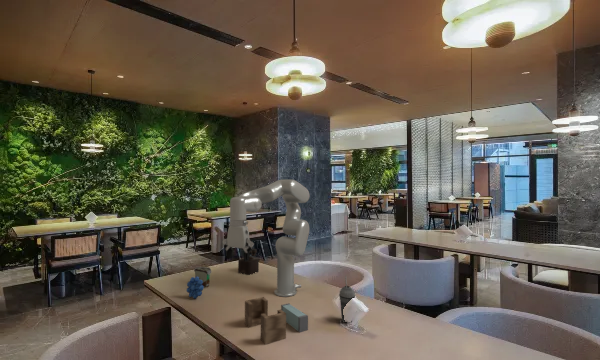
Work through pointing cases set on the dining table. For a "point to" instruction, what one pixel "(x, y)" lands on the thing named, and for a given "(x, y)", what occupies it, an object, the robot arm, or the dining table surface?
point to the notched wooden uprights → (265, 320)
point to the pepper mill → (249, 264)
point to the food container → (203, 275)
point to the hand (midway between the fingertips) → (237, 259)
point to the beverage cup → (345, 297)
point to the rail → (295, 317)
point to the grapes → (195, 287)
